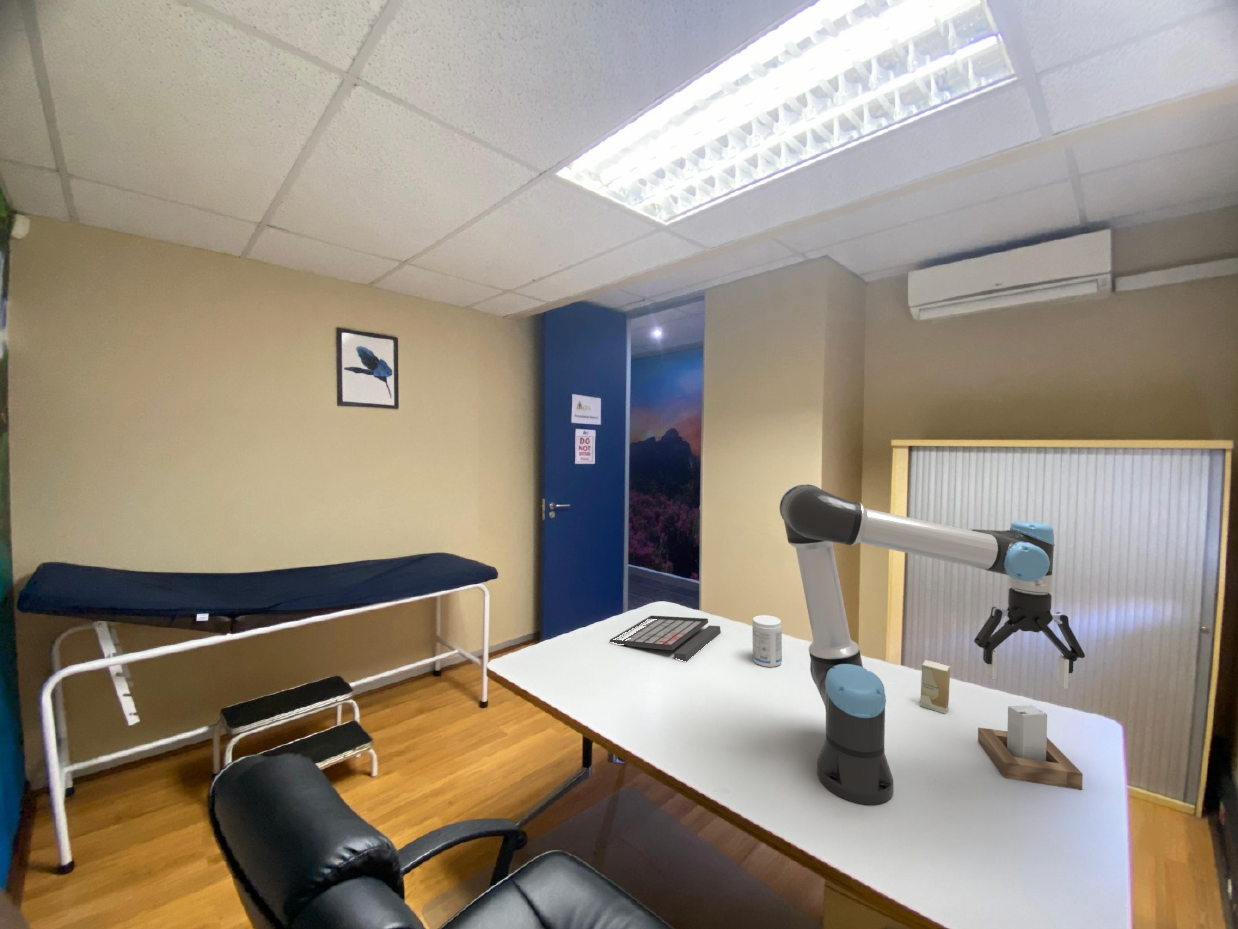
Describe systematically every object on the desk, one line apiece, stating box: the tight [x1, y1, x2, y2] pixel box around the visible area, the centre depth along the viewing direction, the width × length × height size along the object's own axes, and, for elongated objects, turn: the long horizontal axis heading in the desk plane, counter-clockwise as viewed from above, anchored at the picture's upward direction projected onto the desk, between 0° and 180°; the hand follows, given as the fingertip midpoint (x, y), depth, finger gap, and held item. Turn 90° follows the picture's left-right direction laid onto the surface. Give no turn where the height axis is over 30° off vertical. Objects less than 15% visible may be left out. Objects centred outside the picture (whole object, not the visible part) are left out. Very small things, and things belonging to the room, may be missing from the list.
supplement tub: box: [752, 614, 783, 668], centre depth 167 cm, size 10×10×15 cm
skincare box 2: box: [1006, 704, 1048, 761], centre depth 113 cm, size 6×4×12 cm
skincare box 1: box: [919, 659, 951, 715], centre depth 137 cm, size 6×4×12 cm
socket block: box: [977, 727, 1084, 791], centre depth 113 cm, size 14×14×4 cm
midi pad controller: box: [609, 615, 722, 663], centre depth 190 cm, size 32×7×31 cm
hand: (1026, 681), depth 112 cm, fingers open, 13 cm apart
